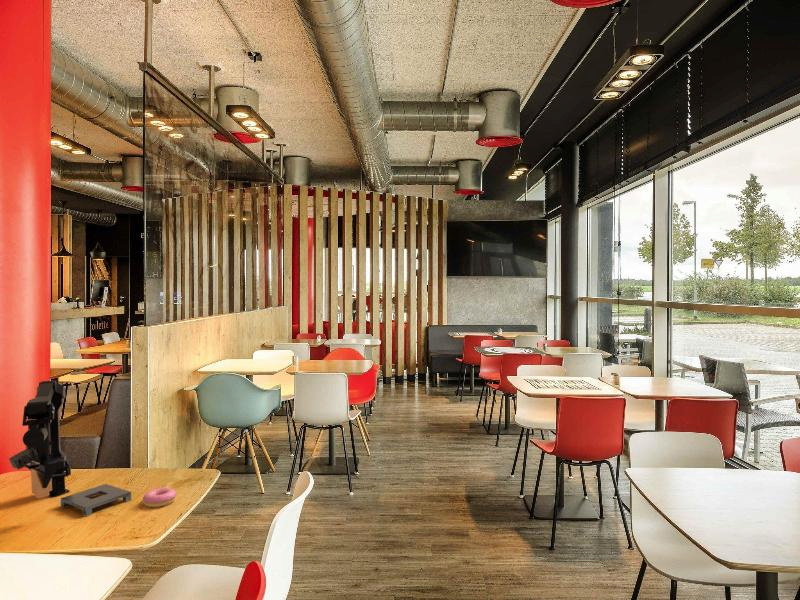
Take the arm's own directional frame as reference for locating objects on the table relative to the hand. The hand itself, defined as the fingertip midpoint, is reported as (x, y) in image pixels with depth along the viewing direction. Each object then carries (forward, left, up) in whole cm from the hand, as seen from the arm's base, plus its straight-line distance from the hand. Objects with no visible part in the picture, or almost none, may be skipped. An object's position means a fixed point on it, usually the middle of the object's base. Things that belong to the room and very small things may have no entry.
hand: (41, 486), depth 184 cm
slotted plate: (+1, +17, -11) cm, 20 cm away
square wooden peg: (0, 0, -3) cm, 3 cm away
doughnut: (+20, +29, -12) cm, 37 cm away
